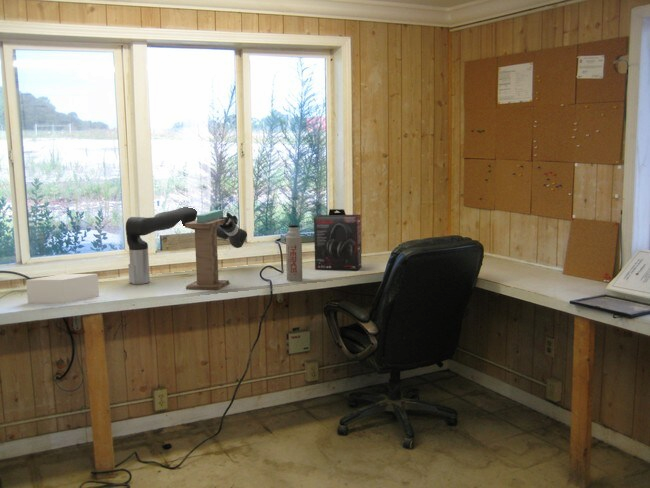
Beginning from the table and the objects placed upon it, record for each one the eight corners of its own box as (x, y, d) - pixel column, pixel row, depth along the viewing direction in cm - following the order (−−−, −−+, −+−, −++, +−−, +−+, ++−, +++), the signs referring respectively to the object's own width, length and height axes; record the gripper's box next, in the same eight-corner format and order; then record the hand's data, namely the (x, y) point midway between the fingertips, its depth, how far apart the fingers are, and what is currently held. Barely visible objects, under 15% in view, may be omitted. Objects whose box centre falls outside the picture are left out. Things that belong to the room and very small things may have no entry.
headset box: (314, 269, 360) (313, 210, 355) (319, 265, 372) (318, 207, 367) (358, 271, 354) (357, 210, 349) (361, 266, 367) (361, 208, 362)
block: (100, 299, 296) (99, 276, 294) (28, 307, 284) (26, 283, 282) (97, 293, 310) (96, 271, 308) (28, 300, 297) (26, 277, 296)
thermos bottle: (298, 281, 328) (297, 226, 324) (284, 280, 331) (282, 225, 327) (305, 278, 335) (304, 224, 331) (290, 277, 338) (289, 224, 334)
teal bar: (216, 216, 336) (216, 209, 335) (223, 216, 335) (223, 210, 335) (196, 222, 311) (196, 215, 310) (203, 222, 310) (203, 215, 310)
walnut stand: (200, 281, 332) (197, 218, 327) (230, 282, 329) (228, 219, 324) (184, 290, 313) (181, 223, 308) (216, 291, 310) (213, 223, 305)
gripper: (241, 233, 345) (231, 220, 330) (215, 232, 348) (204, 220, 333) (243, 220, 348) (233, 207, 333) (217, 220, 351) (207, 207, 336)
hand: (219, 213), depth 333 cm, fingers open, 8 cm apart
